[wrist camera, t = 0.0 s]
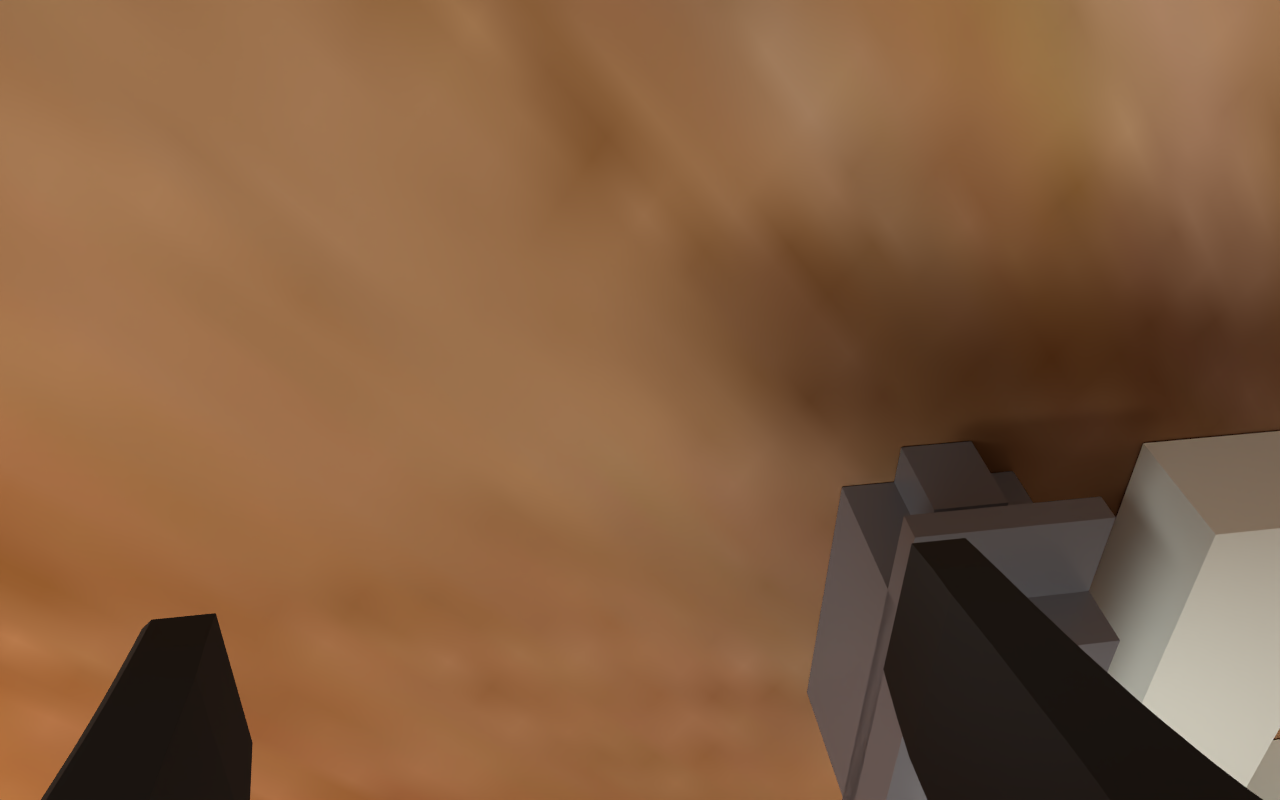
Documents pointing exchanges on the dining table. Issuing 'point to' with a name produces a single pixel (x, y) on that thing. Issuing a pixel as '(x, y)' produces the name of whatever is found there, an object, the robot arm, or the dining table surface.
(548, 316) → the dining table surface
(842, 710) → the block
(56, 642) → the dining table surface
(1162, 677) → the chassis
